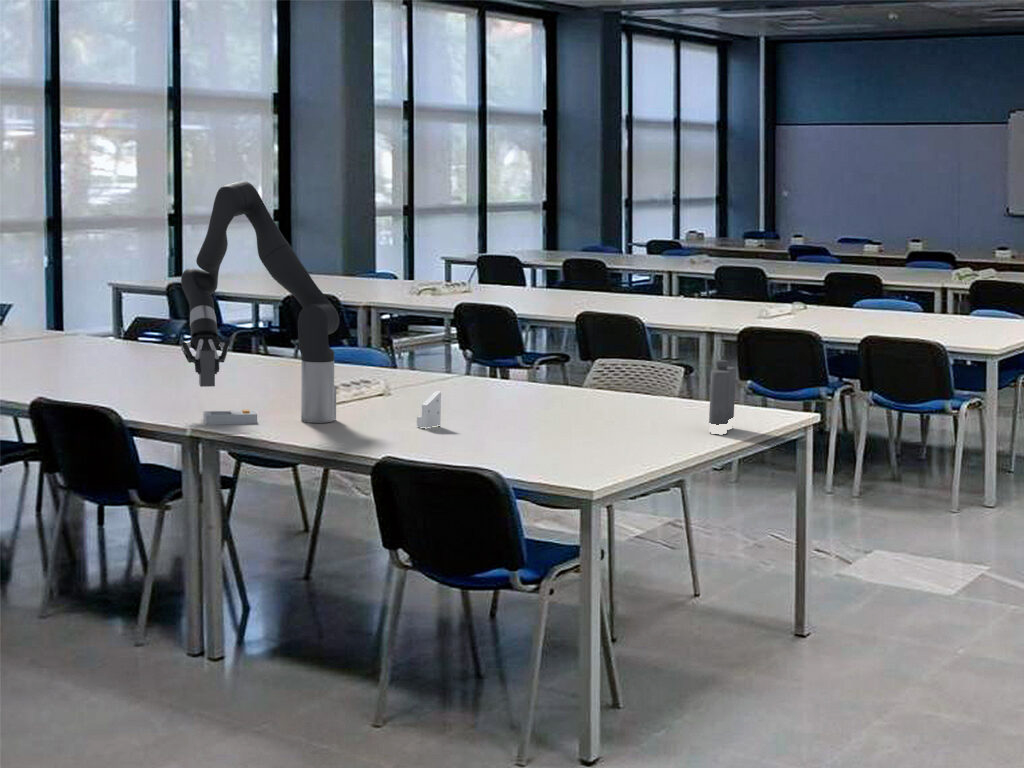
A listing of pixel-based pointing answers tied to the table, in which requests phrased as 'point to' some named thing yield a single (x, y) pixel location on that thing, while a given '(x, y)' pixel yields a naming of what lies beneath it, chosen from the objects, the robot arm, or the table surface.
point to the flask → (722, 393)
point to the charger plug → (207, 368)
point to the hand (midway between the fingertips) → (207, 372)
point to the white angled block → (431, 411)
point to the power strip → (229, 417)
